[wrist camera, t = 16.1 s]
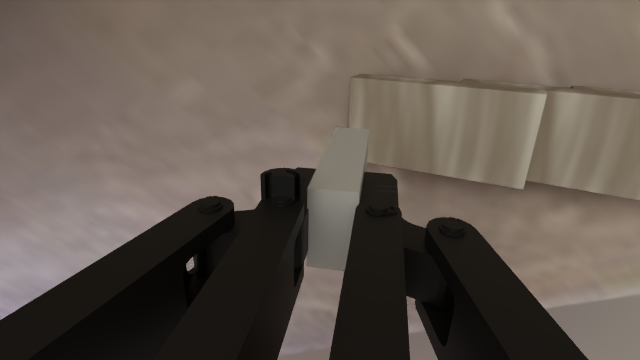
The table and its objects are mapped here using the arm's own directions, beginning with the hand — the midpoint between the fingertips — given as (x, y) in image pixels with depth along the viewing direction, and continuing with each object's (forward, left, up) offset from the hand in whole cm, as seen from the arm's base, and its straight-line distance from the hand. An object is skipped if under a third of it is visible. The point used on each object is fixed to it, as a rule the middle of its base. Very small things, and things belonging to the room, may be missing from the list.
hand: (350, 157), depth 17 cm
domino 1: (0, 0, -7) cm, 7 cm away
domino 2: (+6, 0, -7) cm, 9 cm away
